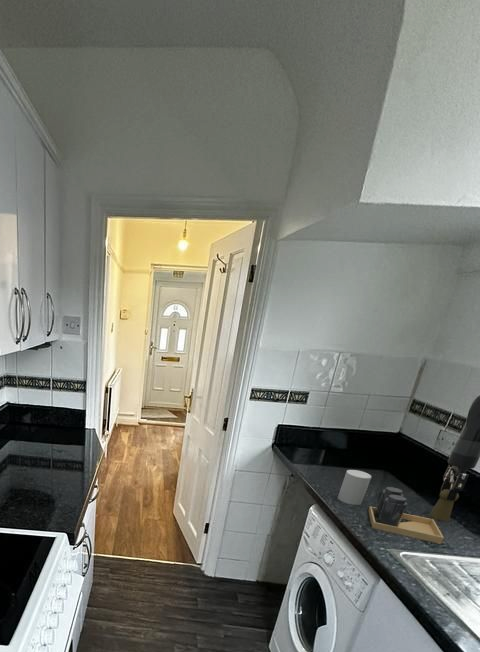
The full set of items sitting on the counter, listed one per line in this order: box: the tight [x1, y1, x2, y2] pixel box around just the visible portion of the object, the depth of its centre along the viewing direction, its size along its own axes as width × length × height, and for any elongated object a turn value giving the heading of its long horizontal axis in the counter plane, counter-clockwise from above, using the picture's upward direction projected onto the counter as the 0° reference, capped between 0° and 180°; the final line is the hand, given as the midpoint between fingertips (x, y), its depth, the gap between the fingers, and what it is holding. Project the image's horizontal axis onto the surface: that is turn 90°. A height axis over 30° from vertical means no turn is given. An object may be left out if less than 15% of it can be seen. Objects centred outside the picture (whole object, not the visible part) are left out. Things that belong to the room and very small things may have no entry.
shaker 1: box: [373, 486, 404, 519], centre depth 145 cm, size 6×6×11 cm
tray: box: [367, 506, 445, 545], centre depth 141 cm, size 19×15×3 cm
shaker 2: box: [376, 495, 408, 527], centre depth 138 cm, size 6×6×11 cm
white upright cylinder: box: [337, 469, 372, 506], centre depth 157 cm, size 8×8×12 cm
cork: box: [428, 489, 460, 523], centre depth 148 cm, size 6×6×11 cm
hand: (446, 495), depth 147 cm, fingers open, 8 cm apart
